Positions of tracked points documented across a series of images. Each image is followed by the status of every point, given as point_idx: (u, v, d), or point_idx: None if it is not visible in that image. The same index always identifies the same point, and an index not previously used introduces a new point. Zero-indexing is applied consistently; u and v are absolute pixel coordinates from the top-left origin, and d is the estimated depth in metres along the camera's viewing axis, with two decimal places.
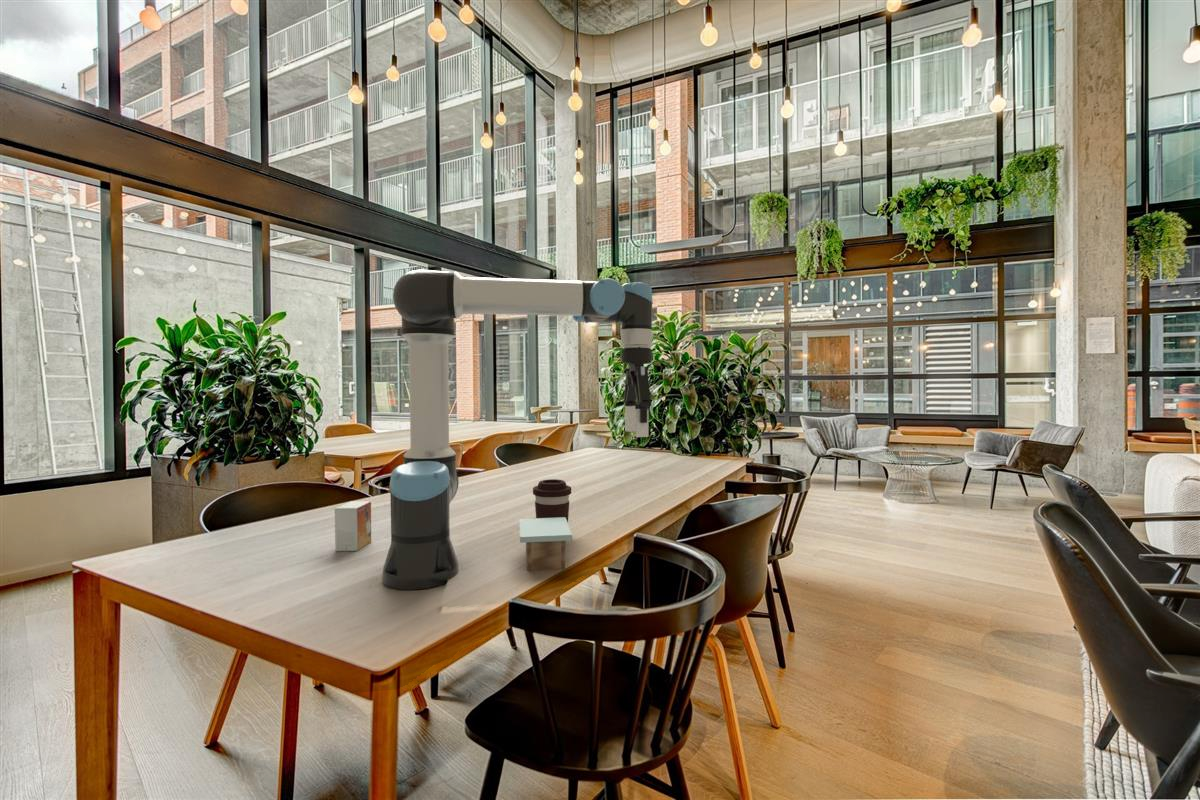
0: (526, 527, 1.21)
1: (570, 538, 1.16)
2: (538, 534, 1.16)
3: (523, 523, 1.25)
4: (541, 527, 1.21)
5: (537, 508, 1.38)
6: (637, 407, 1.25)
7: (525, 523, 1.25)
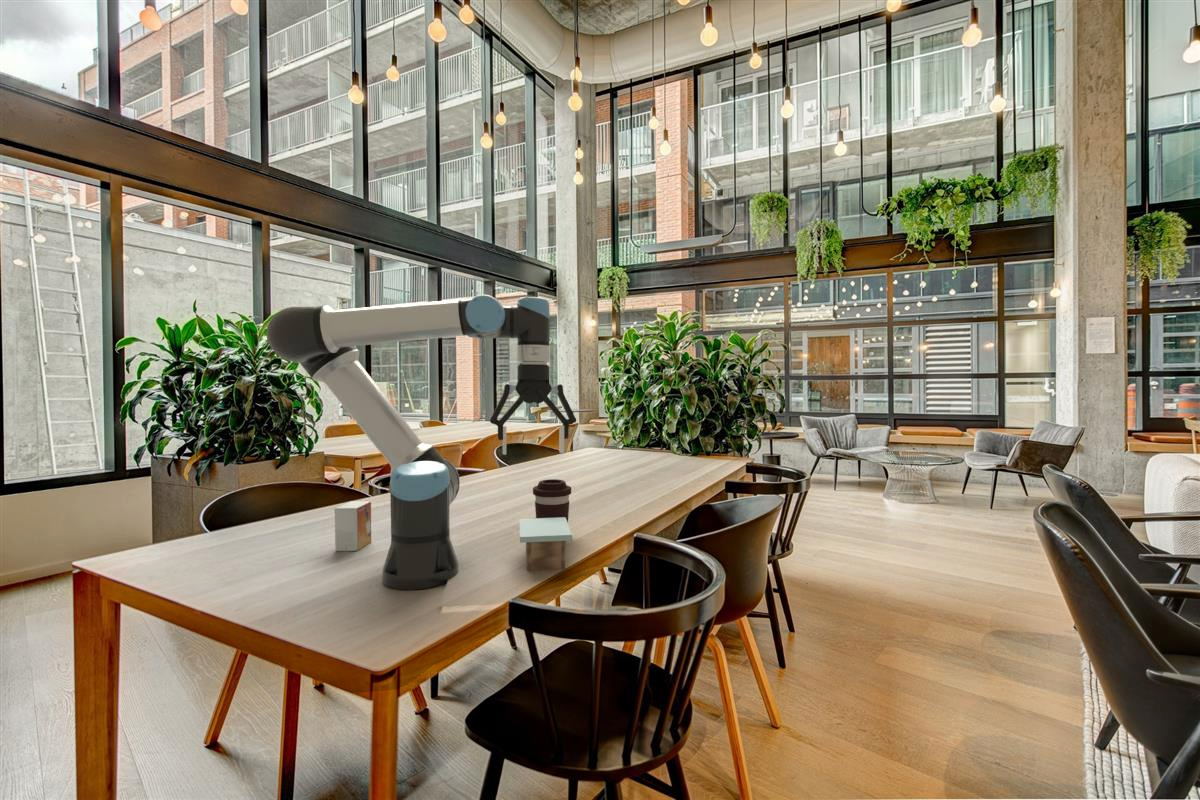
0: (526, 527, 1.21)
1: (570, 538, 1.16)
2: (538, 534, 1.16)
3: (523, 523, 1.25)
4: (541, 527, 1.21)
5: (537, 508, 1.38)
6: None
7: (525, 523, 1.25)
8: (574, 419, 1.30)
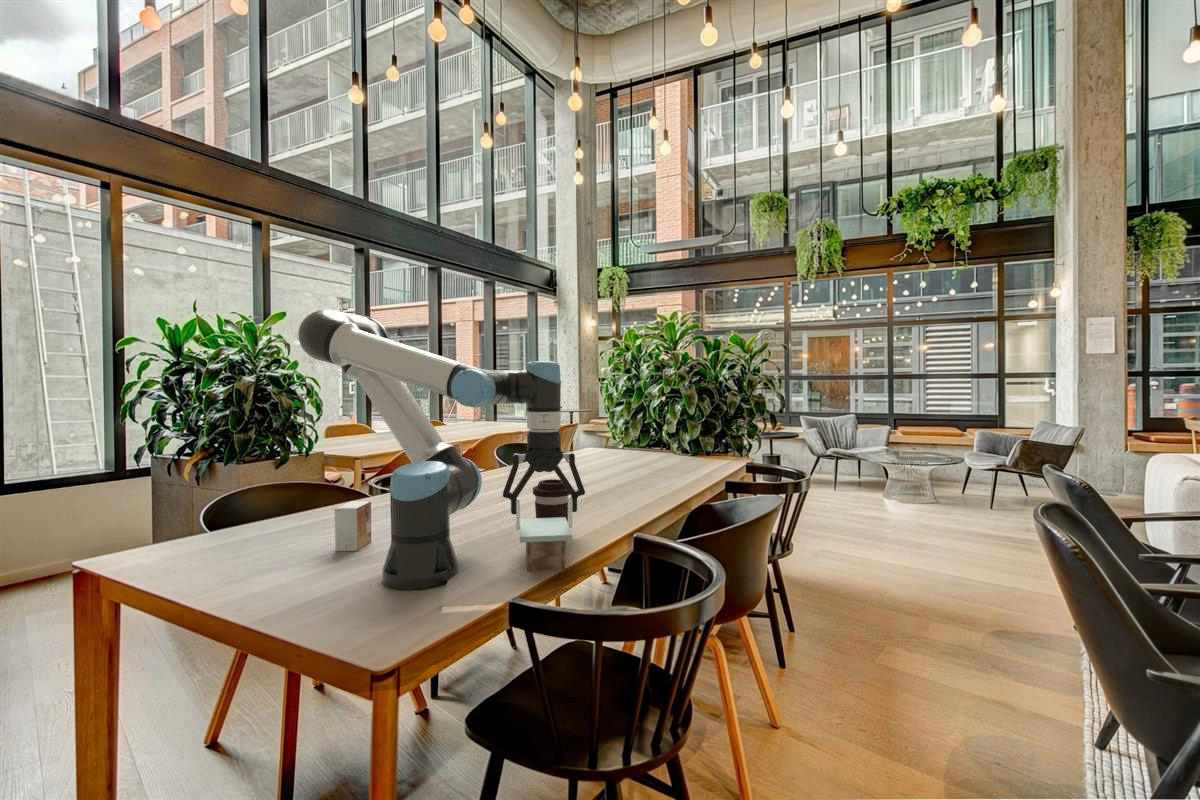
0: (526, 527, 1.21)
1: (570, 538, 1.16)
2: (538, 534, 1.16)
3: (523, 523, 1.25)
4: (541, 527, 1.21)
5: (537, 508, 1.38)
6: None
7: (525, 523, 1.25)
8: (583, 491, 1.22)
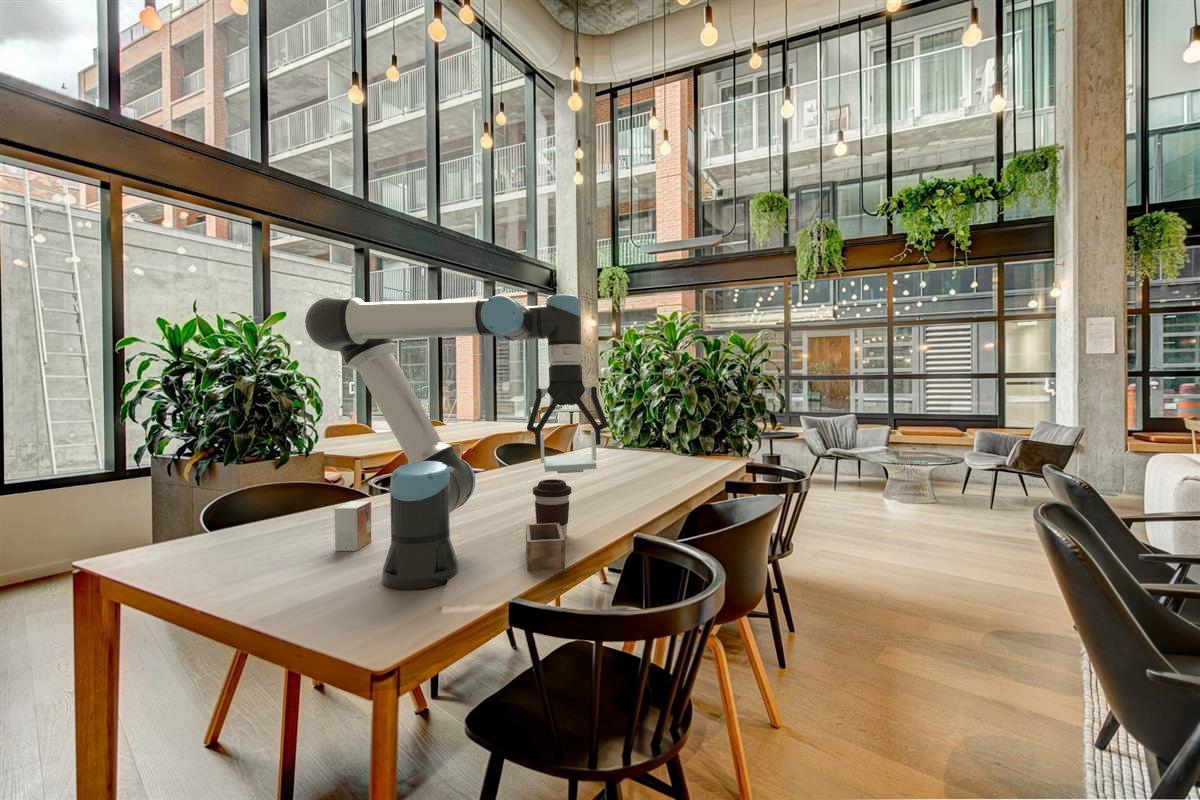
0: (550, 461, 1.23)
1: (594, 467, 1.17)
2: (563, 464, 1.18)
3: (547, 458, 1.26)
4: (565, 460, 1.23)
5: (537, 508, 1.38)
6: None
7: (549, 458, 1.26)
8: (606, 424, 1.23)
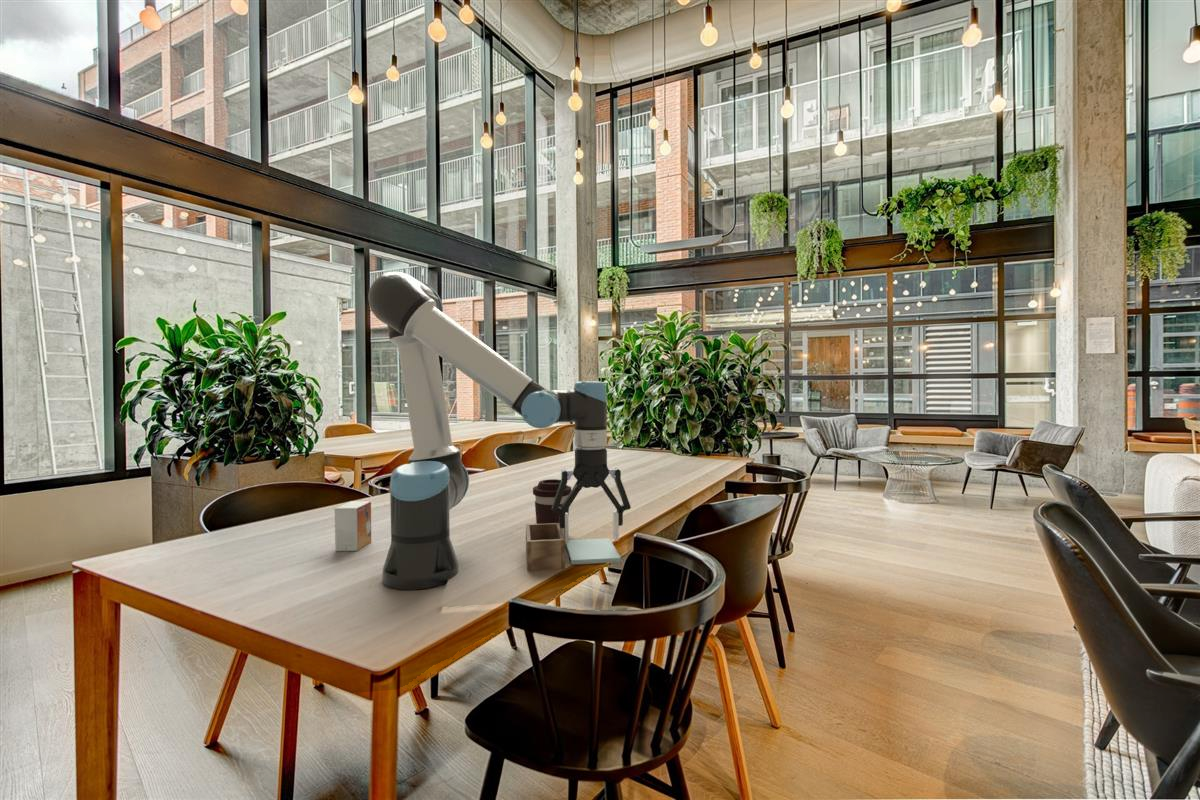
0: (574, 549, 1.26)
1: (619, 561, 1.21)
2: (588, 557, 1.21)
3: (570, 545, 1.30)
4: (589, 550, 1.26)
5: (537, 508, 1.38)
6: None
7: (572, 545, 1.30)
8: (628, 506, 1.27)
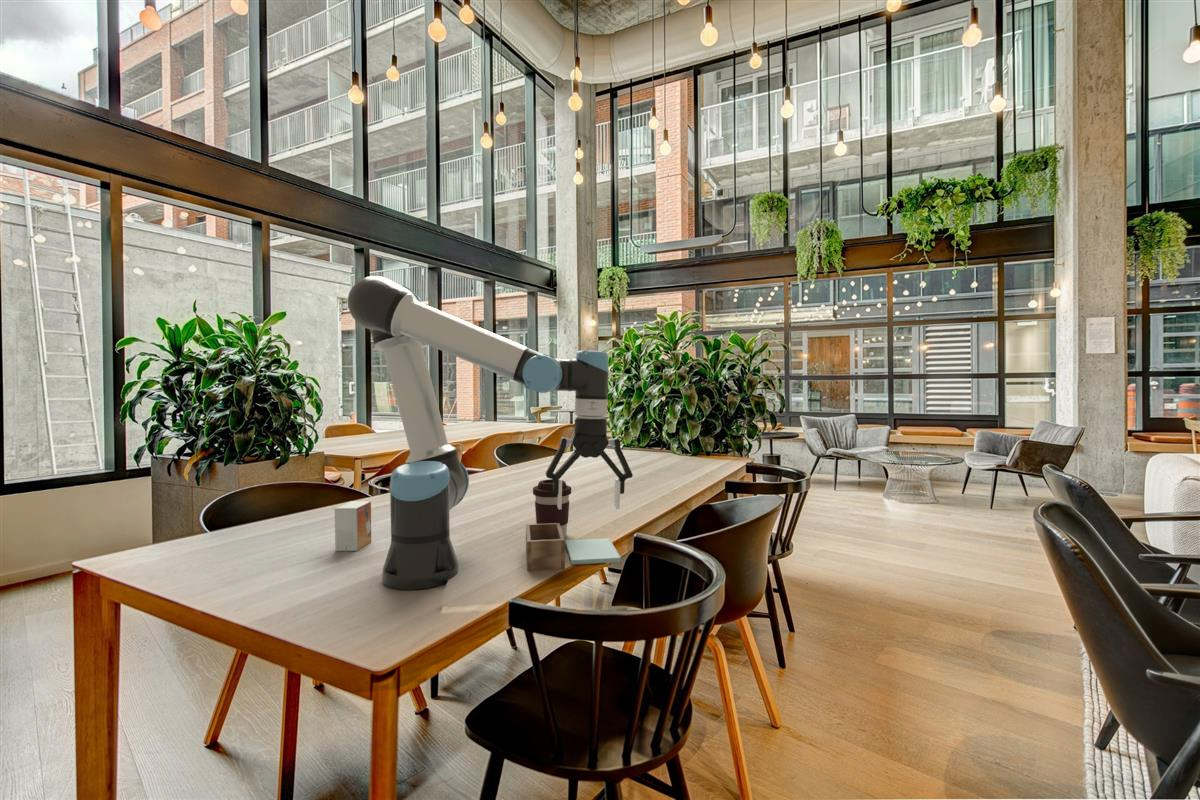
0: (574, 549, 1.26)
1: (619, 561, 1.21)
2: (588, 557, 1.21)
3: (570, 545, 1.30)
4: (589, 550, 1.26)
5: (537, 508, 1.38)
6: None
7: (572, 545, 1.30)
8: (630, 474, 1.27)
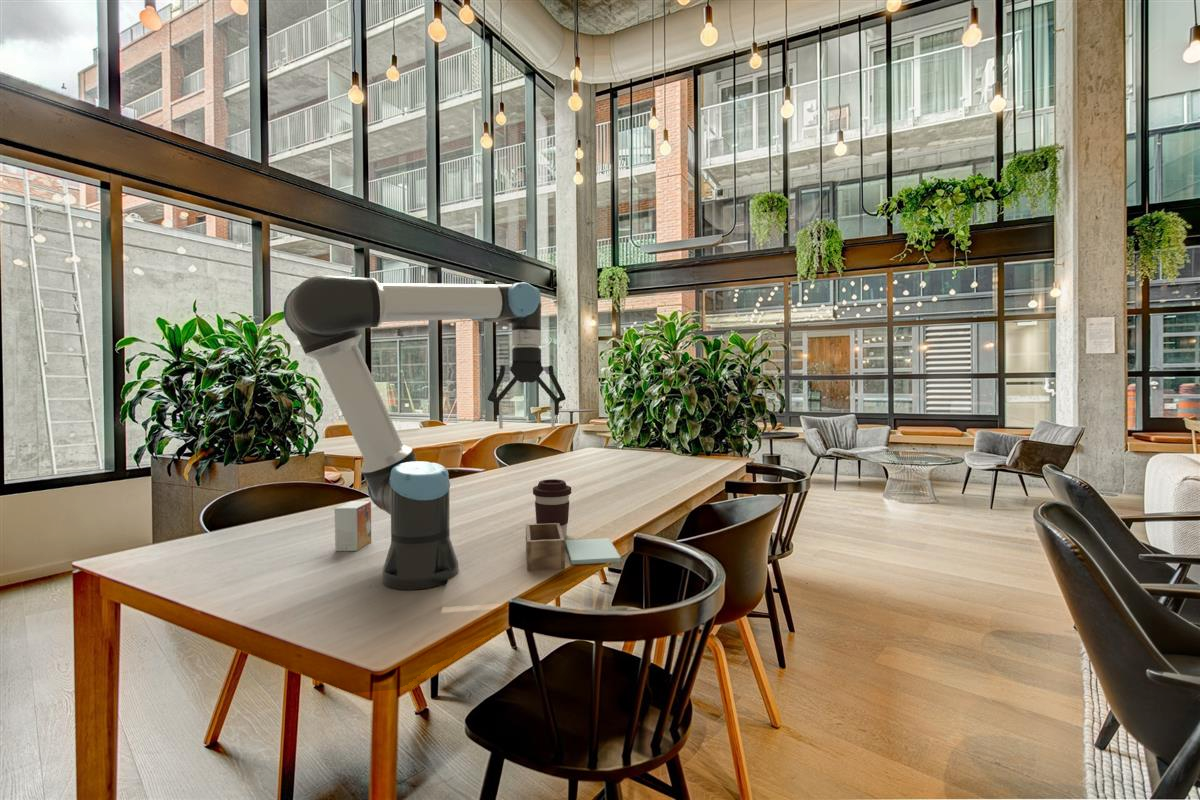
0: (574, 549, 1.26)
1: (619, 561, 1.21)
2: (588, 557, 1.21)
3: (570, 545, 1.30)
4: (589, 550, 1.26)
5: (537, 508, 1.38)
6: None
7: (572, 545, 1.30)
8: (564, 397, 1.43)
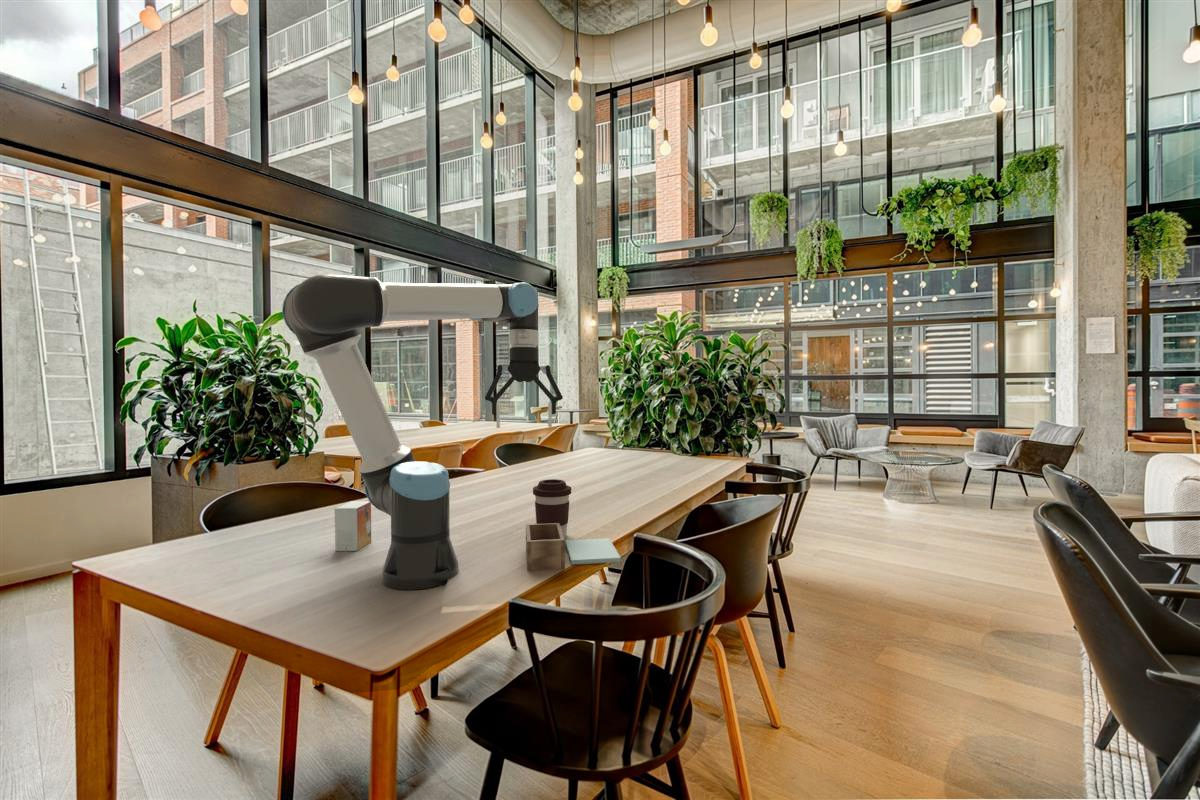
0: (574, 549, 1.26)
1: (619, 561, 1.21)
2: (588, 557, 1.21)
3: (570, 545, 1.30)
4: (589, 550, 1.26)
5: (537, 508, 1.38)
6: None
7: (572, 545, 1.30)
8: (561, 396, 1.44)
